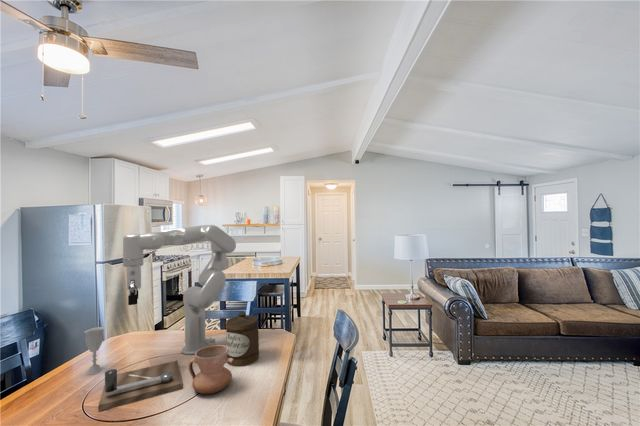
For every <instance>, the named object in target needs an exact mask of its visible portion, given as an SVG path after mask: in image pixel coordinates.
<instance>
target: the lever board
mask: <svg viewBox="0 0 640 426" xmlns="http://www.w3.org/2000/svg"><path fill="white" fill-rule="evenodd" d="M165 372H173V379H172V380H171V381H169V382H166V383H158V384H154V385H150V386H146V387H142V388H138V389H134V390H130V391H126V392H122V393H118V394H114V395H111V396H107V392H105V385H103V390H102V393H101V395H100V399H99V402H98V405H97V406H98V407H97V409H98V412H101V411H105V410H109V409H112V408H116V407H120V406H124V405H128V404H130V402H131V403H134V401H135V402H137V401H142V400H146V399H149V398H152V397H156V396H159V394H160V395H164V394H167V393H171V392H174V391H173V390H175V391H178V390H181V388H182V386H183V384H182V377H181V373H180V366H179V360H177V359H176V360H173V361H169V362H164V363H161V364H156V365H151V366H147V367H143V368H139V369H134V370H129V371H125V372H121V373H117V387H118V386H122V385H126V384H130V383H134V382H138V381H142V380H146V379H150V378H154V377H159V376H161V374H163V373H165ZM177 389H178V390H177ZM170 391H171V392H170ZM163 393H164V394H163ZM141 399H142V400H141ZM123 404H124V405H123Z"/></svg>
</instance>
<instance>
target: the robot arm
mask: <svg viewBox="0 0 640 426" xmlns="http://www.w3.org/2000/svg"><path fill="white" fill-rule="evenodd" d="M203 242H210V250H211V258H210V260H209V261H208V263H207V264H206V265H205V266H204V269H203V270H202V271H200V272H201V273H200V274H199V276H198V280H197V281H198V284H199V285H201V286H202V287H200V286H196V285H194V286H190V287H187V289H186V290H185V291H184V293H183V296H182V301H183V308H184V339H185V340H184V346H182V349H181V353H183V354H184V355H189V356H190V355H195V353H196V351H197V350H199V349H201V348H203V347H207V346H210V344H213V343H216V338H212V337H210V338H207V337H206V309H207V308H209V307H210V306H212V304H213V303H214V302H215V300H216V299H217V298H218V296H219V294H220V293H221V292H222V290H223V288H224V286H225V285H226V280H227V279H226V278H227V276H226V274H225V273H224V271H223V270H224V268H225V267H226V265H227V261H228V259H227V258H228V256H227V254H231V253H234V251H235V250H236V247H237V242H236V240H235V238H233V237H232V236H231V235H229V234H228V233H226V232H225V231H224V230H222V228H220V227H218V226H217V225H214V224H207V225H206V224H205V225H204V224H202V225H193V226H188V227H180V228H174V229H168V230H166V229H165V230H160V231H153V232H151V231H150V232H145V233H142V234H136V233H135V234H134V233H133V234H125V235H124V236H123V237H122V267H123V268H125V270H126V271H125V272H126V273H125V274H126V289H127V291H128V295H127V298H128V300H127V301H128V302H127V304H128V306H134V305H137V304H138V299H139V290H140V289H142V267H143V266H144V251H145V250H147V251H148V250H150V251H151V250H152V251H156V250H159V249H161V248H162V247H165V246H185V245H190V244H191V245H192V244H197V243H203Z"/></svg>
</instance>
